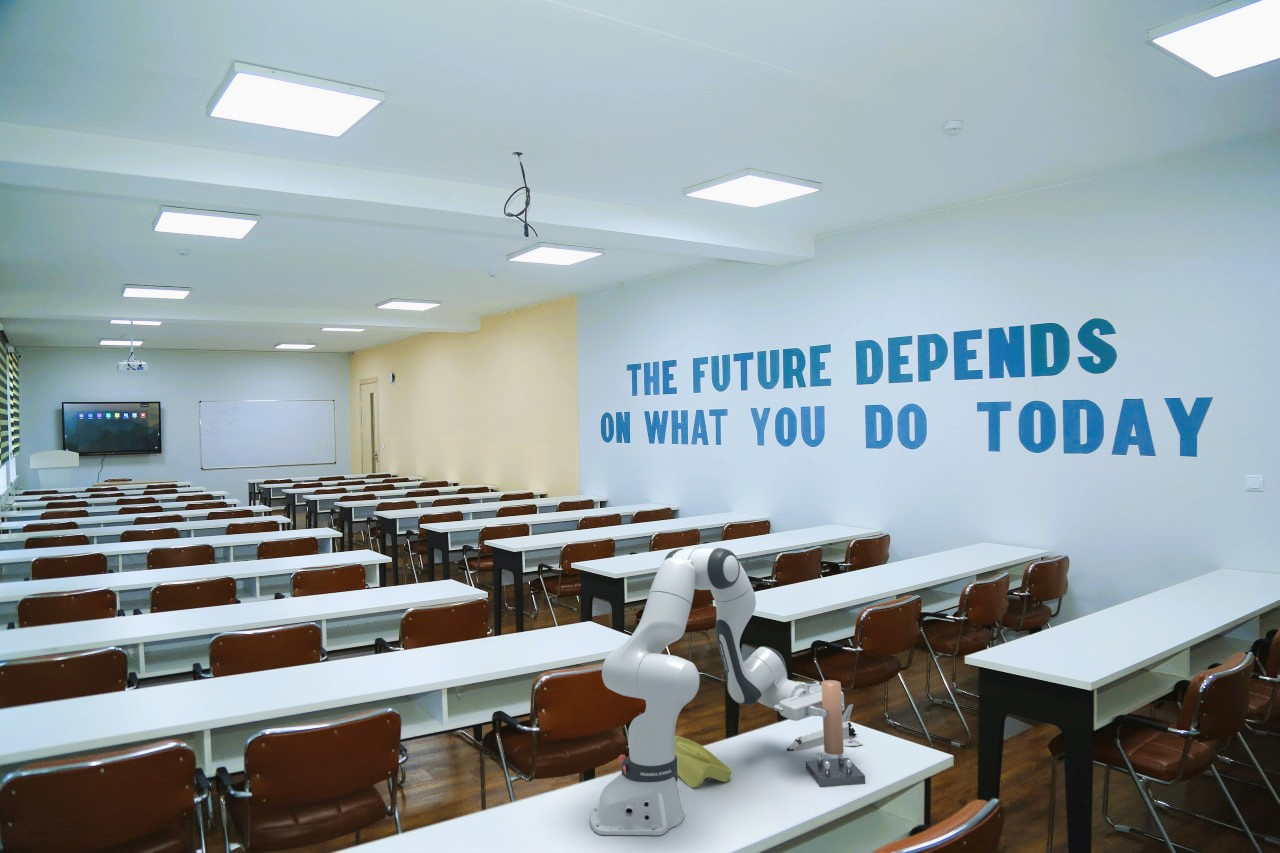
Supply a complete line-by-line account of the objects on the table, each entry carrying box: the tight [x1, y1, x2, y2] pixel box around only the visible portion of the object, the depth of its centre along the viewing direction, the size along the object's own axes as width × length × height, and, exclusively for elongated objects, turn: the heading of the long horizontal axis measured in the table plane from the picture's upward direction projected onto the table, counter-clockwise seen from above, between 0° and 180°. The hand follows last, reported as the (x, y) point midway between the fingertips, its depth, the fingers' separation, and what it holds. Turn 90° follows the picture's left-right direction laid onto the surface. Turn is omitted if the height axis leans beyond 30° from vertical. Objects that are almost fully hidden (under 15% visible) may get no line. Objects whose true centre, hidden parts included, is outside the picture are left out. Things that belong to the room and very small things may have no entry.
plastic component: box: [675, 735, 732, 789], centre depth 215 cm, size 20×7×10 cm
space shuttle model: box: [786, 703, 864, 752], centre depth 234 cm, size 16×25×10 cm, turn 115°
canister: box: [820, 679, 845, 756], centre depth 211 cm, size 5×5×18 cm
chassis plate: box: [804, 751, 866, 788], centre depth 210 cm, size 12×12×5 cm
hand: (834, 710), depth 210 cm, fingers closed on canister, 5 cm apart
